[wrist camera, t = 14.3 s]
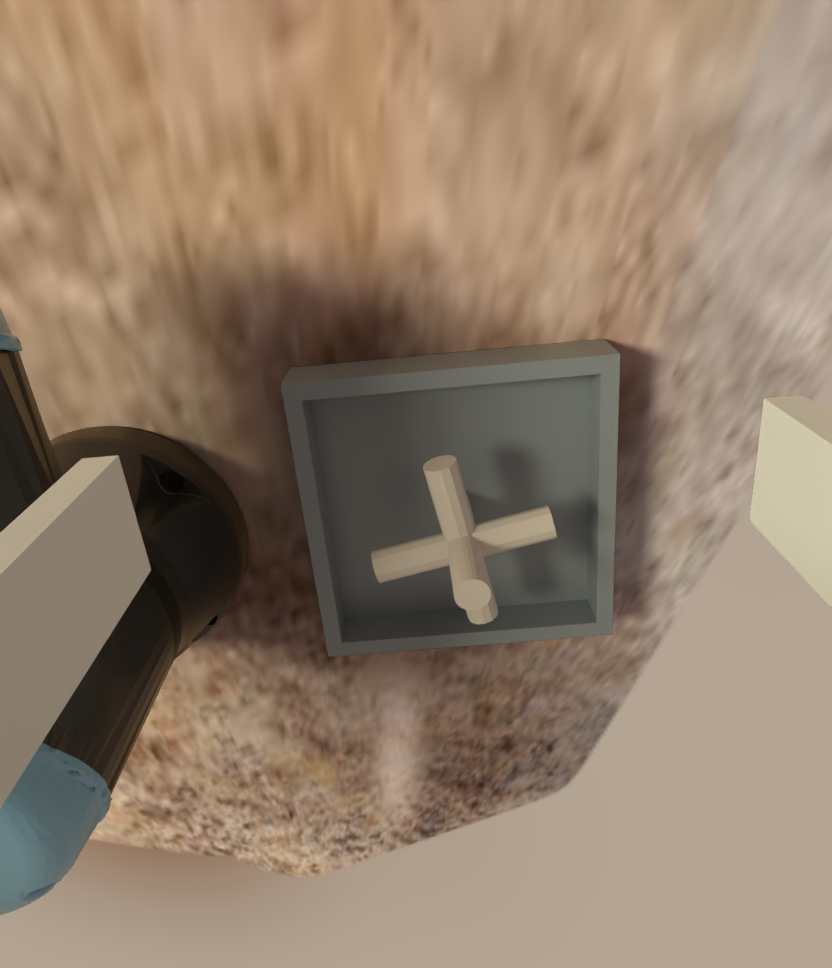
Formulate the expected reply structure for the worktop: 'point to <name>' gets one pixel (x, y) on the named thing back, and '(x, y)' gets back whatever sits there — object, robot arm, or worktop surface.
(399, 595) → the tray
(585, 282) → the worktop surface
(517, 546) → the pipe connector
